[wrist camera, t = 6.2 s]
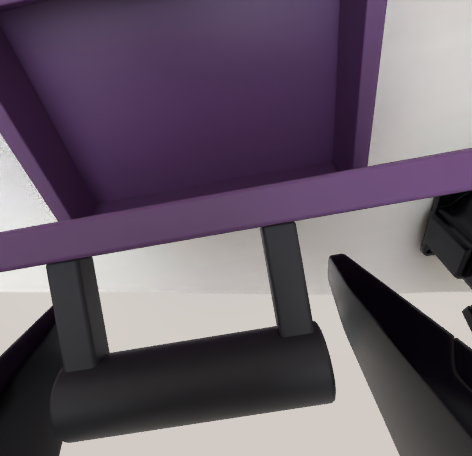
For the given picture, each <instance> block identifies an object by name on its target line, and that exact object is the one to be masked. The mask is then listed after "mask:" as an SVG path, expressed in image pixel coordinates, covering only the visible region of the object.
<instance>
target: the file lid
mask: <svg viewBox="0 0 472 456" xmlns="http://www.w3.org/2000/svg"><path fill="white" fill-rule="evenodd" d="M470 190H472V148H469V149H463V150H457V151H452V152H446V153H441V154H435V155H429V156H424V157H418V158H413V159H407V160H401V161H396V162H390V163H385V164H379V165H373V166H368V167H362V168H357V169H351V170H346V171H340V172H334V173H329V174H323V175H318V176H312V177H306V178H301V179H295V180H290V181H284V182H278V183H273V184H267V185H262V186H256V187H250V188H245V189H239V190H234V191H228V192H222V193H217V194H211V195H206V196H200V197H194V198H189V199H183V200H178V201H172V202H166V203H161V204H155V205H150V206H144V207H138V208H133V209H127V210H122V211H116V212H111V213H105V214H99V215H94V216H88V217H83V218H77V219H71V220H66V221H60V222H55V223H49V224H43V225H38V226H32V227H27V228H21V229H15V230H10V231H4V232H0V272H4V271H10V270H16V269H22V268H27V267H33V266H39V265H45V264H47V265H46V269H47V275H48V280H49V286H50V292H51V297H52V303H53V308H54V314H55V319H56V325H57V331H58V336H59V342H60V347H61V353H62V358H63V364H64V367H63V368H62V369H61V370H60V372H59V374H58V375H57V377H56V380H55V382H54V385H53V388H52V392H51V397H50V406H49V414H50V422H51V427H52V429H53V432H54V434H55V435H56V436H57V438H58V439H60V440H61V441H64V442H67V443H69V442H70V443H71V442H78V441H84V440H90V439H97V438H104V437H110V436H117V435H123V434H130V433H136V432H144V431H150V430H157V429H163V428H170V427H176V426H183V425H190V424H196V423H202V422H209V421H216V420H223V419H229V418H236V417H242V416H249V415H256V414H262V413H269V412H275V411H281V410H288V409H295V408H302V407H308V406H315V405H321V404H328V403H332V402H333V401H334V400H335V393H336V388H335V379H334V373H333V368H332V364H331V359H330V355H329V352H328V349H327V345H326V342H325V339H324V336H323V334H322V331H321V330H320V327H319V326H318V324H317V323H316V322H315V321H312V315H311V310H310V304H309V298H308V292H307V286H306V280H305V275H304V269H303V263H302V257H301V252H300V246H299V240H298V234H297V228H296V223H295V222H294V221H298V220H303V219H309V218H315V217H321V216H327V215H332V214H338V213H344V212H350V211H355V210H361V209H367V208H373V207H378V206H384V205H390V204H396V203H401V202H407V201H413V200H419V199H424V198H430V197H436V196H442V195H447V194H453V193H459V192H465V191H470ZM257 227H261V228H260V231H261V237H262V243H263V248H264V254H265V260H266V266H267V271H268V277H269V283H270V289H271V294H272V300H273V306H274V312H275V318H276V323H277V326H274V327H268V328H263V329H256V330H250V331H244V332H237V333H231V334H225V335H219V336H212V337H207V338H200V339H194V340H188V341H181V342H176V343H169V344H163V345H157V346H151V347H144V348H138V349H132V350H126V351H120V352H114V353H109V347H108V342H107V337H106V331H105V325H104V319H103V314H102V309H101V303H100V297H99V291H98V286H97V280H96V275H95V269H94V263H93V258H92V256H96V255H102V254H108V253H114V252H119V251H125V250H131V249H137V248H142V247H148V246H154V245H160V244H165V243H171V242H177V241H183V240H188V239H194V238H200V237H206V236H211V235H217V234H223V233H229V232H234V231H240V230H246V229H252V228H257Z"/></svg>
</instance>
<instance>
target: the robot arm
mask: <svg viewBox="0 0 472 456" xmlns="http://www.w3.org/2000/svg"><path fill="white" fill-rule="evenodd" d="M420 251H421V252H422V253H423V254H424V255H425V256H429V255H436V256H437V257H438V258H439V260H440V261H441V262H442V263H443V264H444V265H445V267H446V268H447V269H448V270H449V271H450V272H451V273H452V275H453V276H454V277H456V278H457V279H461V278H462V279H463V280H464V281H465V282H466V283H467V284H468V286H469V287H470V288H471V289H472V190H470V191H465V192H459V193H453V194H447V195H442V196H436V198H435V201H434V204H433V208H432V211H431V215H430V218H429V221H428V225H427V228H426V232H425V235H424V238H423V242H422V245H421V249H420ZM328 280H329V284H330V287H331V290H332V293H333V296H334V299H335V303H336V306H337V309H338V312H339V316H340V319H341V322H342V325H343V328H344V331H345V333H346V335H347V338H348V340H349V342H350V345H351V347H352V349H353V351H354V354H355V356H356V358H357V360H358V363H359V365H360V367H361V369H362V371H363V374H364V376H365V378H366V381H367V383H368V385H369V387H370V389H371V392H372V394H373V396H374V399H375V401H376V403H377V405H378V408H379V410H380V412H381V414H382V416H383V418H384V421H385V423H386V426H387V428H388V430H389V432H390V435H391V437H392V439H393V441H394V443H395V446H396V448H397V450H398V453H399V455H400V456H472V349H471V348H470V347H468V346H467V345H466V344H464V343H463V342H462V341H460V340H459V339H458V338H454V336H453V335H452V334H451V333H449V332H448V331H447V330H445V329H444V328H443V327H441V326H440V325H438V324H437V323H436V322H435V321H433V320H432V319H431V318H429V317H428V316H427V315H425V314H424V313H422V312H421V311H420V310H419V309H417V308H416V307H415V306H413V305H412V304H411V303H409V302H408V301H407V300H405V299H404V298H403V297H401V296H400V295H399V294H397V293H396V292H395V291H393V290H392V289H391V288H389V287H388V286H387V285H385V284H384V283H383V282H381V281H380V280H379V279H377V278H376V277H375V276H373V275H372V274H370V273H369V272H368V271H366V270H365V269H364V268H362V267H361V266H360V265H358V264H357V263H356V262H354V261H353V260H352V259H350V258H349V257H348V256H346V255H345V254H336V255H331V256H330V257H329V261H328ZM462 313H463V315H464V317H465V319H466V321H467V323H468V325H469V327H470V329H471V331H472V305H471V306H468V307H466V308H465V309H464V310H463V311H462ZM63 367H64V364H63V358H62V353H61V347H60V342H59V336H58V331H57V325H56V319H55V314H54V308H53V306H52V307H51V308H50V309H49V310H48V311H47V312H45V313H44V314H43V315H42V316H41V317H40V318H39V319H38V320H37V321H36V322H35V323H34V324H33V325H32V326H31V327H30V328H29V329H28V330H27V331H26V332H25V333H24V334H23V335H22V336H21V337H20V338H18V339H17V340H16V341H15V342H14V343H13V344H12V345H11V346H10V347H9V348H8V349H7V350H6V351H5V352H4V353H3V354H2V355H1V356H0V456H59V454H60V450H61V445H62V441H61V440H60V439H58V438H57V436H56V435H55V434H54V432H53V429H52V427H51V422H50V414H49V406H50V397H51V392H52V388H53V385H54V382H55V380H56V377H57V375H58V374H59V372H60V370H61V369H62V368H63Z"/></svg>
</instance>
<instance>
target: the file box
mask: <svg viewBox="0 0 472 456" xmlns="http://www.w3.org/2000/svg"><path fill="white" fill-rule="evenodd" d="M386 6H387V0H0V133H1V135H2V136H3V138H4V139H5V141H6V142H7V144H8V146H9V147H10V149H11V150H12V152H13V153H14V155H15V156H16V158H17V159H18V161H19V162H20V164H21V165H22V167H23V168H24V170H25V172H26V173H27V175H28V176H29V178H30V179H31V181H32V182H33V184H34V185H35V187H36V188H37V190H38V191H39V193H40V194H41V196H42V197H43V199H44V201H45V202H46V204H47V205H48V207H49V208H50V210H51V211H52V213H53V214H54V216H55V217H56V219H57V220H58V222H60V221H66V220H71V219H77V218H83V217H88V216H94V215H99V214H105V213H111V212H116V211H122V210H127V209H133V208H138V207H144V206H150V205H155V204H161V203H166V202H172V201H178V200H183V199H189V198H194V197H200V196H206V195H211V194H217V193H222V192H228V191H234V190H239V189H245V188H250V187H256V186H262V185H267V184H273V183H278V182H284V181H290V180H295V179H301V178H306V177H312V176H318V175H323V174H329V173H334V172H340V171H346V170H351V169H357V168H362V167H367V165H368V156H369V148H370V140H371V131H372V123H373V115H374V106H375V98H376V90H377V81H378V73H379V64H380V56H381V48H382V39H383V31H384V23H385V14H386Z"/></svg>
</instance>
